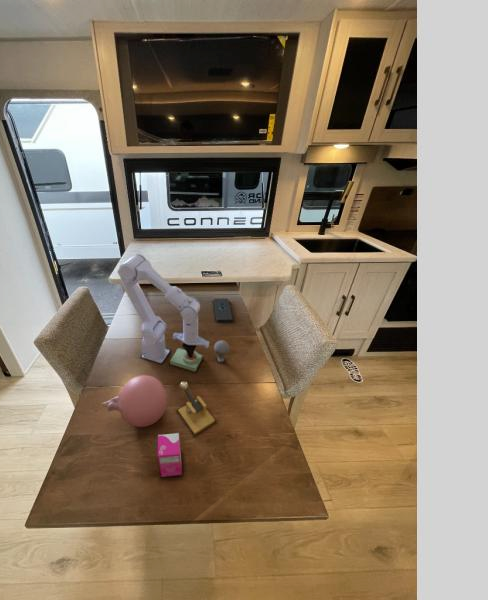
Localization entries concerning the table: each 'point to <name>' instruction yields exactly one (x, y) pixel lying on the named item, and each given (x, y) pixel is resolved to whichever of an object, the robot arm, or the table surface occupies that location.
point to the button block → (185, 360)
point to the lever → (190, 396)
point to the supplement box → (169, 455)
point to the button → (190, 358)
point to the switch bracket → (196, 416)
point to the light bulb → (221, 350)
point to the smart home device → (223, 310)
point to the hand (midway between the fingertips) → (190, 355)
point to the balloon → (140, 401)
